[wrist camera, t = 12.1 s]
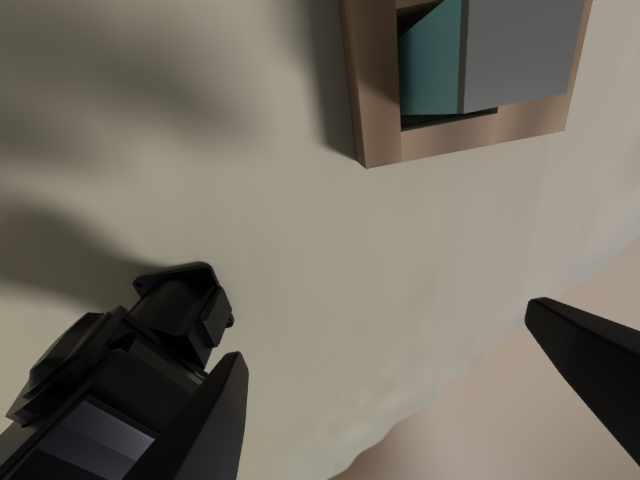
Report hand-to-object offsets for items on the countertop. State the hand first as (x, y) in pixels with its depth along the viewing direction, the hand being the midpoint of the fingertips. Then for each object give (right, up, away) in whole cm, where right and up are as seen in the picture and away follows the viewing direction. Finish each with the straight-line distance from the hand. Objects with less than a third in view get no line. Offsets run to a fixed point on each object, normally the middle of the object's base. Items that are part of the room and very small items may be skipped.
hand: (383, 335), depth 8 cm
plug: (+5, +13, +8) cm, 17 cm away
